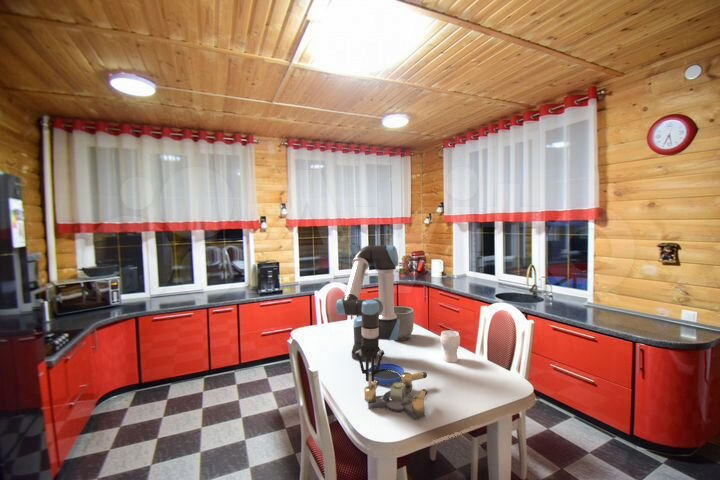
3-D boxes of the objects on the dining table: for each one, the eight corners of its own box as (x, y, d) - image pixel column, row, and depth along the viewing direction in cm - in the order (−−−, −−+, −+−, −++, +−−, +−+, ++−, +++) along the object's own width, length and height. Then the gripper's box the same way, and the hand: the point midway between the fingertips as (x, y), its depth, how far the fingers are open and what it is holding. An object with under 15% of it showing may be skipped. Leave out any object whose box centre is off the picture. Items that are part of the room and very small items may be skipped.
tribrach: (363, 407, 132) (362, 387, 132) (382, 383, 152) (381, 365, 151) (422, 422, 122) (421, 400, 121) (434, 394, 141) (434, 375, 141)
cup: (461, 364, 170) (461, 337, 169) (441, 363, 172) (440, 336, 171) (459, 356, 180) (459, 330, 179) (440, 355, 182) (439, 329, 181)
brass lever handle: (422, 415, 121) (422, 404, 121) (410, 412, 124) (410, 401, 123) (430, 397, 133) (430, 387, 133) (419, 395, 135) (419, 385, 135)
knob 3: (374, 403, 131) (373, 392, 130) (363, 401, 132) (362, 391, 132) (382, 387, 143) (382, 377, 143) (372, 385, 145) (371, 376, 144)
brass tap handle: (404, 387, 142) (404, 378, 142) (399, 382, 147) (399, 373, 147) (429, 382, 147) (429, 372, 146) (424, 377, 151) (423, 368, 151)
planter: (419, 335, 215) (418, 308, 214) (407, 345, 198) (406, 315, 197) (393, 331, 225) (392, 304, 224) (379, 340, 209) (379, 311, 208)
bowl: (394, 390, 146) (394, 382, 146) (361, 380, 156) (361, 373, 155) (410, 374, 161) (410, 367, 161) (379, 366, 171) (379, 360, 171)
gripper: (356, 339, 134) (355, 393, 136) (385, 338, 135) (385, 392, 137) (355, 333, 142) (354, 384, 143) (383, 332, 143) (382, 383, 144)
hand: (369, 387), depth 140 cm, fingers closed
